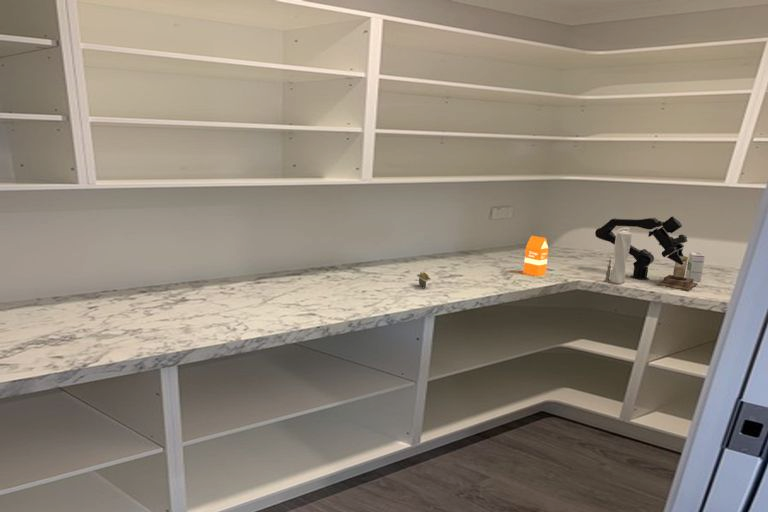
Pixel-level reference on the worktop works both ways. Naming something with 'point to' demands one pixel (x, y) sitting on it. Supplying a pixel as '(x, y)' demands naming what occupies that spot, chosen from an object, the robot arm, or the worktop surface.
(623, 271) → the skyscraper
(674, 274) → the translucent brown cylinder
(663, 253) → the robot arm
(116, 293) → the worktop surface
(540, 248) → the orange juice
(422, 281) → the olive brown upright piece
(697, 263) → the syrup box
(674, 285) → the walnut dock
